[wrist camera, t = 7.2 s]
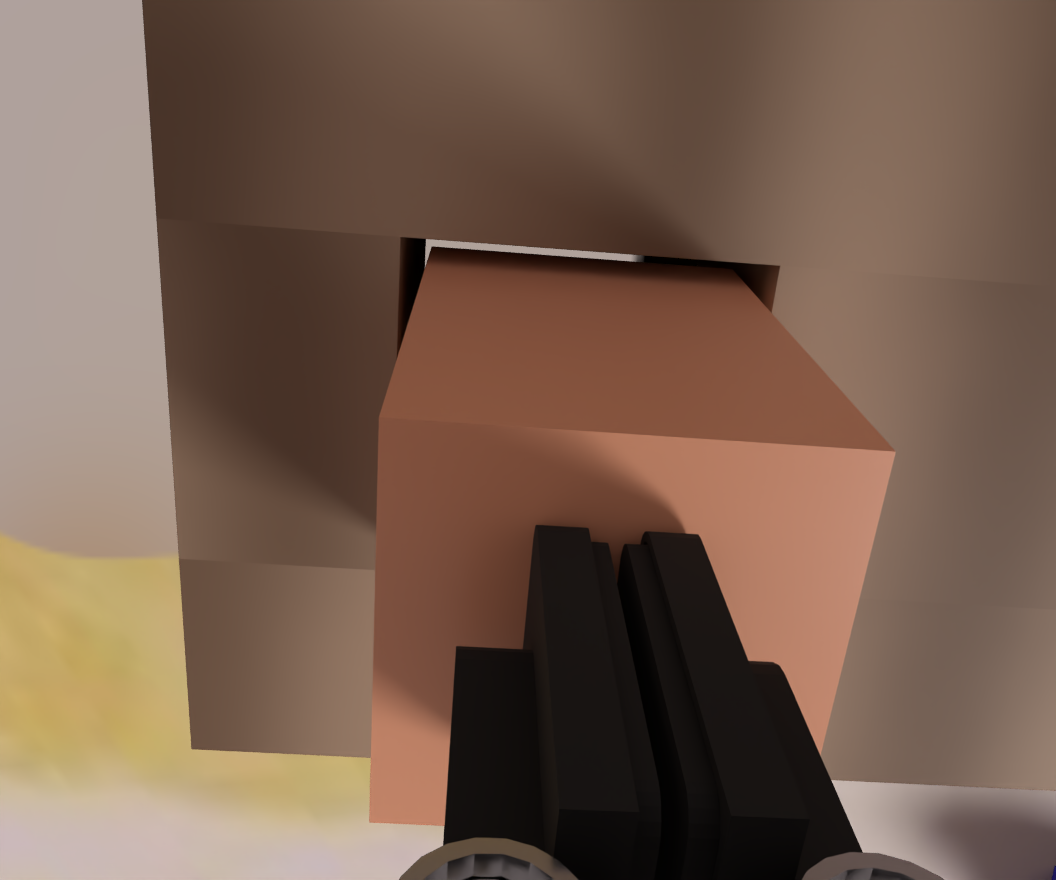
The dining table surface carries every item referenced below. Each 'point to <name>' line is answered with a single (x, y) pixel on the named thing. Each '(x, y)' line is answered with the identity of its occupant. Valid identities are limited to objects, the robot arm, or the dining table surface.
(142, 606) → the dining table surface
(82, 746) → the dining table surface
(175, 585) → the dining table surface
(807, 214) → the button box
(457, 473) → the terracotta plunger
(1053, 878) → the cable clip
